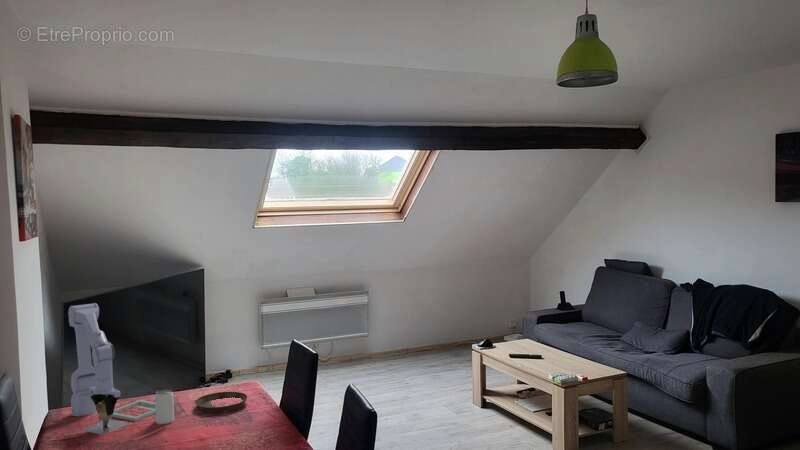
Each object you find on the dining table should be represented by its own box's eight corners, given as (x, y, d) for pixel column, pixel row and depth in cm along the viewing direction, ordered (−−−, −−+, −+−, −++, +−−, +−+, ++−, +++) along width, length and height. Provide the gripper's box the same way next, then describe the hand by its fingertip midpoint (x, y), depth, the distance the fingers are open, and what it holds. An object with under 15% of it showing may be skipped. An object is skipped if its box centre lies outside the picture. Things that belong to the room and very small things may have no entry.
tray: (106, 417, 233) (106, 412, 233) (140, 404, 247) (139, 400, 247) (135, 423, 226) (135, 418, 226) (168, 409, 241) (168, 405, 240)
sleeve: (93, 420, 219) (92, 404, 219) (106, 415, 224) (106, 399, 224) (101, 422, 217) (100, 406, 217) (115, 416, 222) (114, 401, 222)
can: (167, 426, 222) (166, 394, 222) (152, 425, 224) (151, 393, 223) (177, 420, 229) (176, 389, 228) (162, 419, 230) (161, 388, 230)
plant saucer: (209, 397, 256) (209, 390, 256) (255, 398, 253) (255, 391, 253) (185, 414, 235) (185, 406, 235) (235, 416, 232) (235, 408, 232)
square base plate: (80, 431, 219) (80, 415, 218) (109, 420, 229) (108, 404, 229) (103, 436, 213) (102, 419, 213) (131, 425, 224) (130, 409, 224)
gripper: (81, 378, 220) (82, 414, 221) (108, 382, 214) (109, 420, 215) (98, 373, 227) (99, 408, 227) (124, 377, 220) (126, 413, 221)
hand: (105, 413), depth 221 cm, fingers closed on sleeve, 4 cm apart
